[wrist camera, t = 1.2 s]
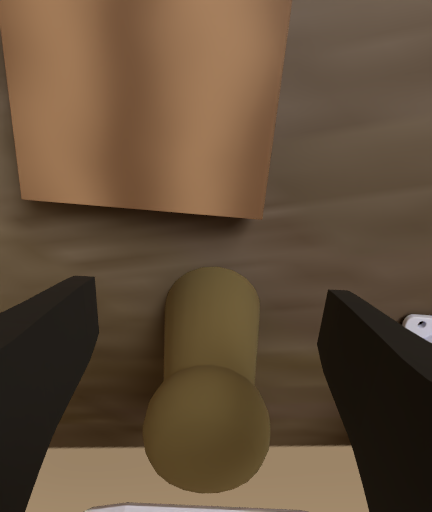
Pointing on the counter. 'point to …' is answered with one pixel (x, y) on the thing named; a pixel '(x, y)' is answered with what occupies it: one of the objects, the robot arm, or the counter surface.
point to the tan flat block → (145, 101)
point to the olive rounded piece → (208, 386)
